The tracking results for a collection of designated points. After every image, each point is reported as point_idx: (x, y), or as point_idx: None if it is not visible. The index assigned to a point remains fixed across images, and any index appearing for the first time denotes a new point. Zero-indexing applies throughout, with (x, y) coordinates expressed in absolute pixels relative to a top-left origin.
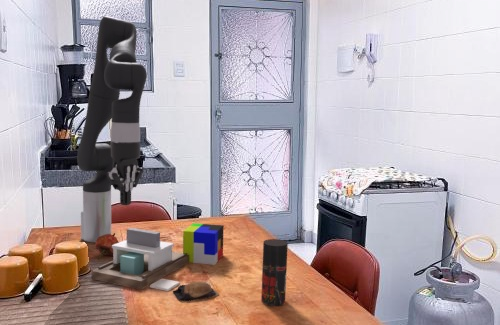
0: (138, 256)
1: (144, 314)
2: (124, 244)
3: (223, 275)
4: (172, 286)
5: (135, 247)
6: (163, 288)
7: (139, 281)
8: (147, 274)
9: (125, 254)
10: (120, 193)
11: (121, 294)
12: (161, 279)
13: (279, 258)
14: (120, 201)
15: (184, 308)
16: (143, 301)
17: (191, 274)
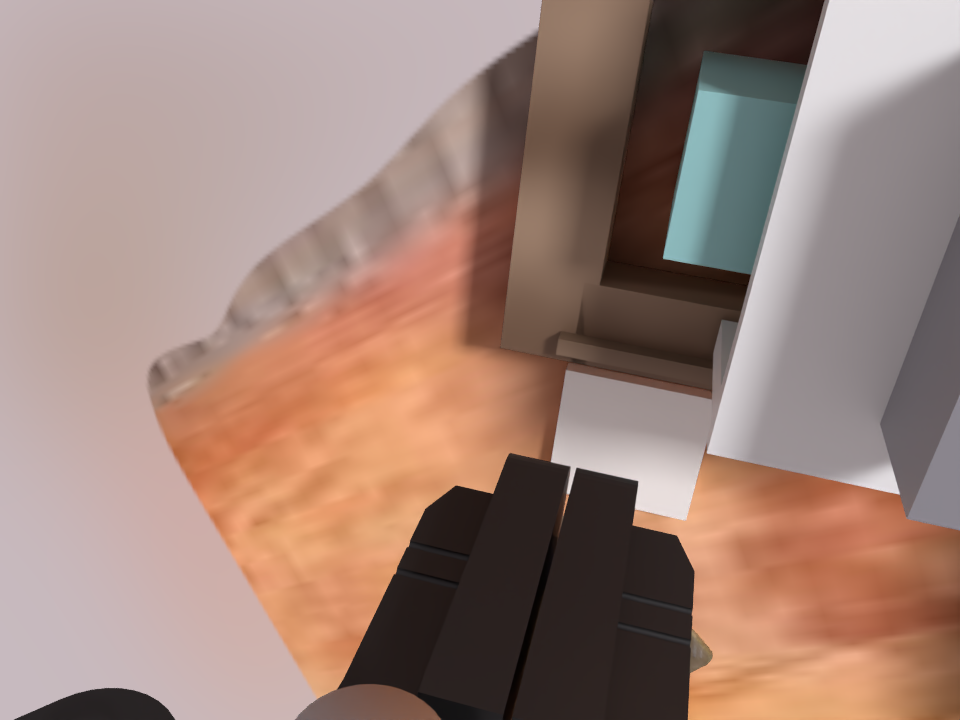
0: (739, 271)
1: (235, 458)
2: (944, 29)
3: (928, 713)
4: None
5: (844, 219)
6: (551, 458)
7: (502, 334)
8: (602, 362)
9: (765, 115)
10: (351, 668)
11: (392, 237)
12: (695, 404)
13: None
14: (427, 514)
15: (378, 601)
16: (361, 400)
17: (904, 539)
